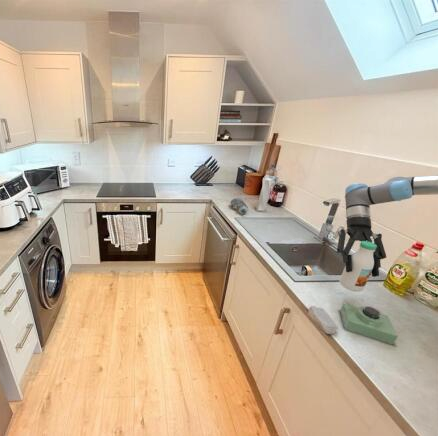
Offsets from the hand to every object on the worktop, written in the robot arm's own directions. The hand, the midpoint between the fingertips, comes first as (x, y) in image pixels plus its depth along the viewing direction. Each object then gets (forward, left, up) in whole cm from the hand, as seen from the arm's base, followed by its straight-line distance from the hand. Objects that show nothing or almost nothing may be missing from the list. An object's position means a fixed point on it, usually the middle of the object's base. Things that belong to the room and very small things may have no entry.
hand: (362, 273), depth 90 cm
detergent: (+56, -88, -16) cm, 106 cm away
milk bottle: (+1, -3, -9) cm, 9 cm away
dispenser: (-3, +11, -15) cm, 19 cm away
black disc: (-3, +11, -10) cm, 15 cm away
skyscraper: (+41, -98, -16) cm, 108 cm away
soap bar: (+11, +17, -16) cm, 25 cm away
